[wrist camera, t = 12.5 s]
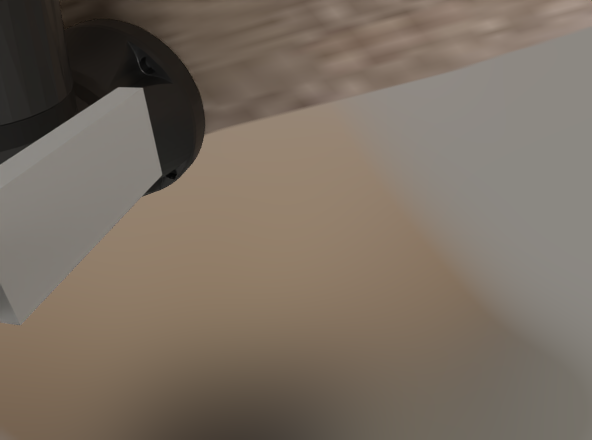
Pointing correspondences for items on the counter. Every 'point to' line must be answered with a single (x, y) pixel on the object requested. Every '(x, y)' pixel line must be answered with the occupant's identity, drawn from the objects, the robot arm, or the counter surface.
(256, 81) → the counter surface
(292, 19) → the counter surface
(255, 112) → the counter surface
